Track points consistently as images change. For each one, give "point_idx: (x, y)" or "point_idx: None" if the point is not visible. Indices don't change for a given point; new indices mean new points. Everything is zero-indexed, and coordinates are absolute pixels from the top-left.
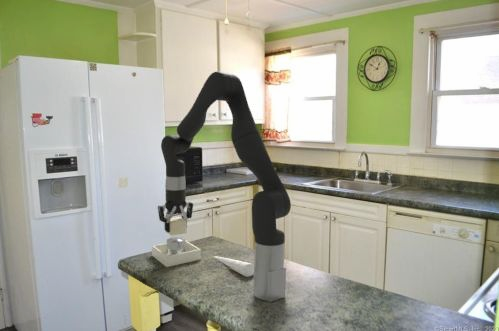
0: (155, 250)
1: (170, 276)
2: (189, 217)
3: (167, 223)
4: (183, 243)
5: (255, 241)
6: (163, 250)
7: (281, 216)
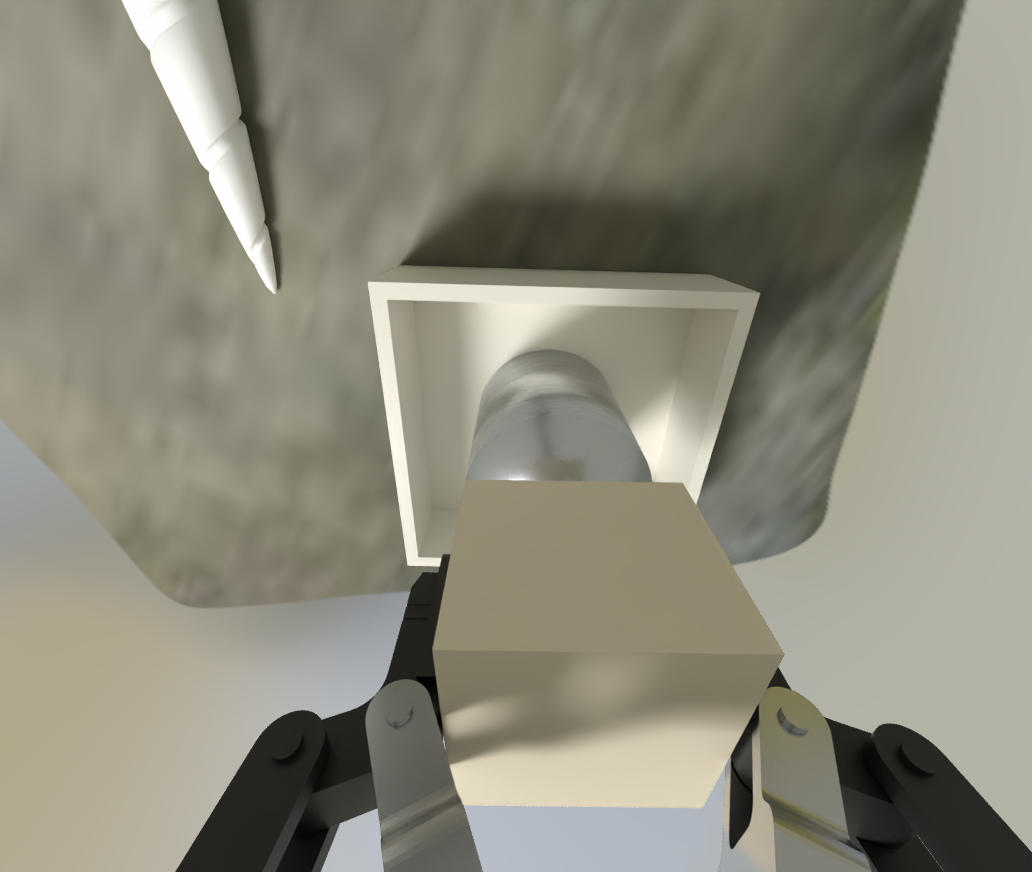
0: None
1: (805, 66)
2: (315, 727)
3: None
4: (515, 412)
5: None
6: None
7: None
